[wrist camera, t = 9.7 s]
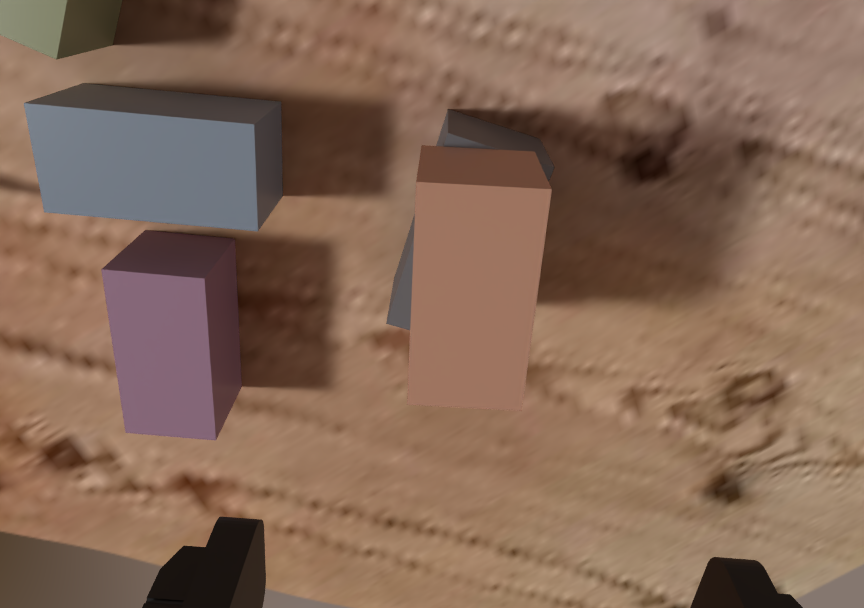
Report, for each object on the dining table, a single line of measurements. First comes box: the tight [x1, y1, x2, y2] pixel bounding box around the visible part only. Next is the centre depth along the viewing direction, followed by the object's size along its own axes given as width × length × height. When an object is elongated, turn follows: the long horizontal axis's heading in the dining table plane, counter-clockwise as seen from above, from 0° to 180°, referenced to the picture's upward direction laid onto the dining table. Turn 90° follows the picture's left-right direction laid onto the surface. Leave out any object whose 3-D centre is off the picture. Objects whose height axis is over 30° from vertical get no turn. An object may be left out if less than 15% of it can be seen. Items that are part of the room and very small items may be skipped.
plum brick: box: [102, 230, 242, 440], centre depth 30 cm, size 8×4×4 cm, turn 175°
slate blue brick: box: [24, 83, 283, 231], centre depth 26 cm, size 8×4×4 cm, turn 85°
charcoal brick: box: [386, 109, 554, 330], centre depth 27 cm, size 8×4×4 cm, turn 163°
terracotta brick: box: [407, 145, 552, 411], centre depth 23 cm, size 8×4×4 cm, turn 177°
